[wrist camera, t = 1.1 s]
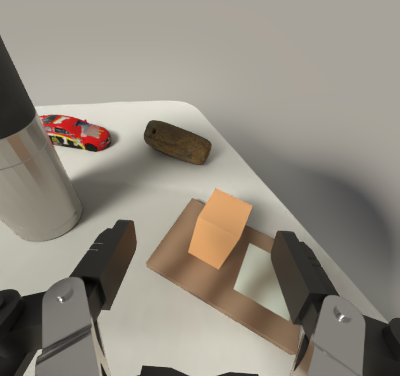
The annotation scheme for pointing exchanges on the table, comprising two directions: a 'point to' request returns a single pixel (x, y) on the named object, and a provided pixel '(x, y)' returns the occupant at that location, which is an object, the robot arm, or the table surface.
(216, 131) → the table surface
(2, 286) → the table surface
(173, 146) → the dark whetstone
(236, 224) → the tall wooden pillar
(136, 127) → the table surface
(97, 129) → the race car
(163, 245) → the board
